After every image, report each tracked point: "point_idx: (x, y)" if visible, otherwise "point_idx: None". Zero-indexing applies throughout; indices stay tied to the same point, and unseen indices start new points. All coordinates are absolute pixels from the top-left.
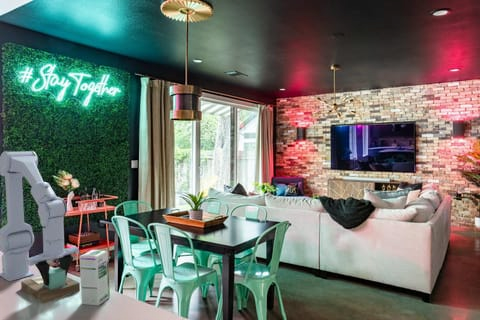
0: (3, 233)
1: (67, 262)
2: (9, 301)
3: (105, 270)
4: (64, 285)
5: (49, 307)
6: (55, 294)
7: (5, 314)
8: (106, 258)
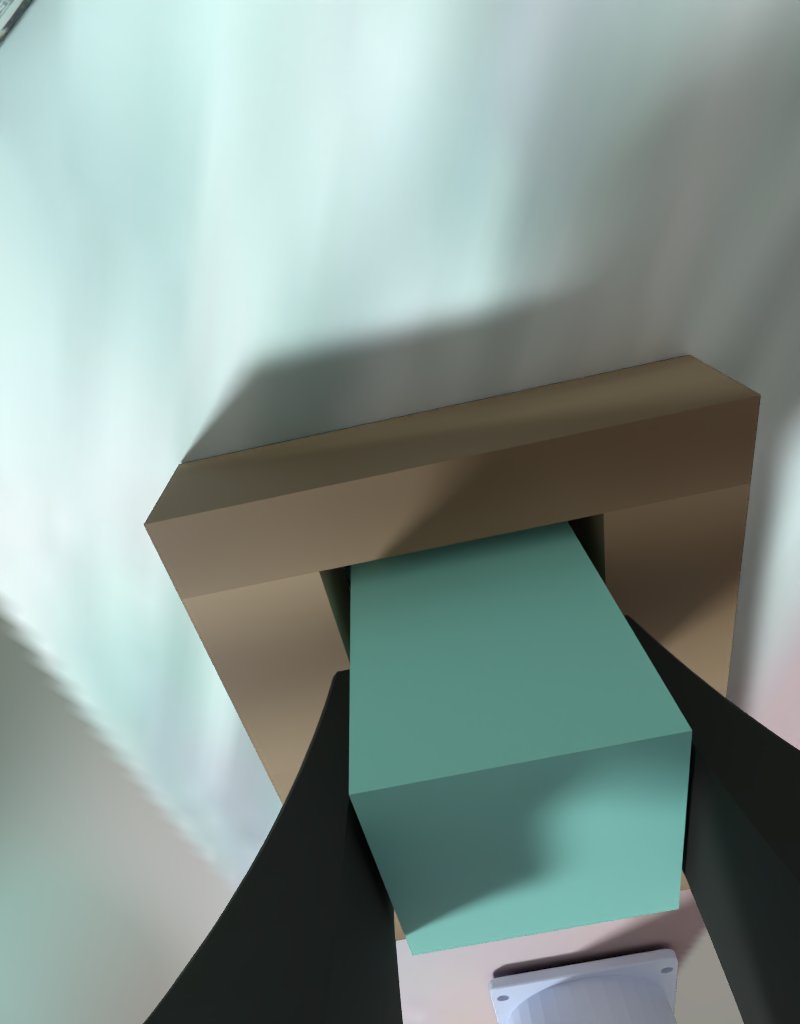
0: None
1: (277, 1019)
2: None
3: None
4: (371, 577)
5: (694, 120)
6: (535, 413)
7: None
8: None
